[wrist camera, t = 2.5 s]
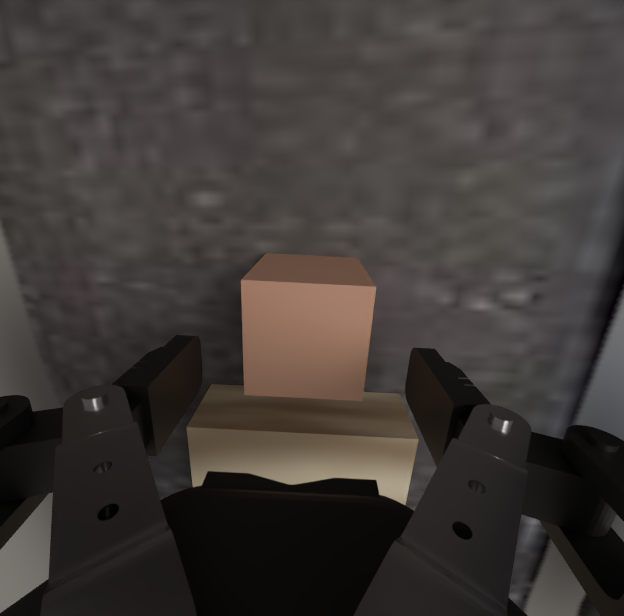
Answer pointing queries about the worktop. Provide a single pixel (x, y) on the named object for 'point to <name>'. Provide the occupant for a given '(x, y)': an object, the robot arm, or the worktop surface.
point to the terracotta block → (306, 327)
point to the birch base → (304, 438)
